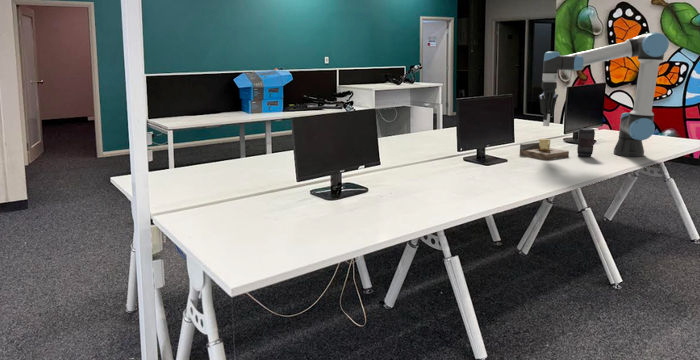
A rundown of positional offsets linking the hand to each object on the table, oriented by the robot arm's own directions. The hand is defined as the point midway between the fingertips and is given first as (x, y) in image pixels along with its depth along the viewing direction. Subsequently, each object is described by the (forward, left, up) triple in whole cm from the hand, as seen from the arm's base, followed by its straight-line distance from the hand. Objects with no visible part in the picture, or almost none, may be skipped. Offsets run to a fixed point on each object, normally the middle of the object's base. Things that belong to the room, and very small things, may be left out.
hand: (546, 125), depth 301 cm
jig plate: (0, 0, -16) cm, 16 cm away
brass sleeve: (0, 0, -16) cm, 16 cm away
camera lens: (-13, -17, -17) cm, 27 cm away
